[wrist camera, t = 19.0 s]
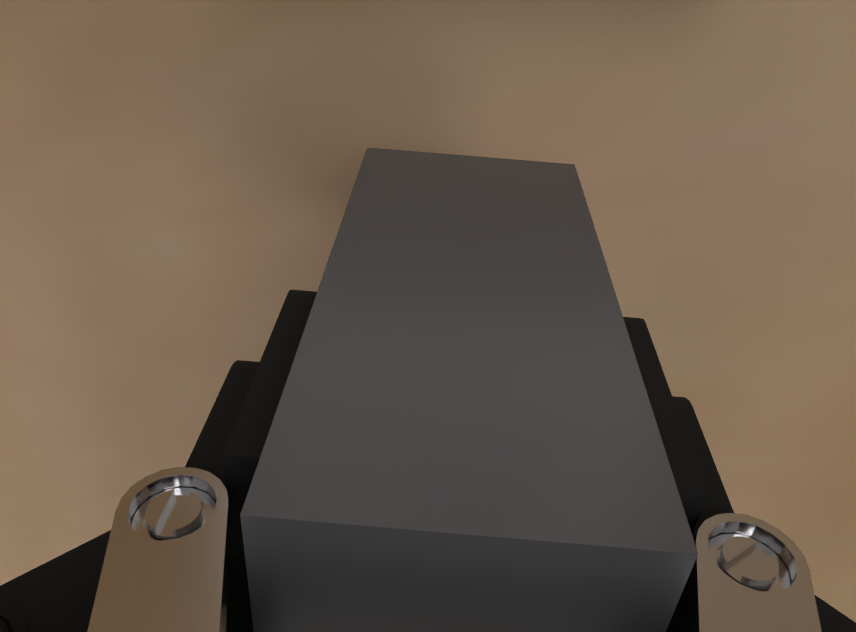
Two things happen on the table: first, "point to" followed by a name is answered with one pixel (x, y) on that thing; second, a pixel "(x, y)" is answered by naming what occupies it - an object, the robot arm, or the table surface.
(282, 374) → the robot arm
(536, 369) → the plug
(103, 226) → the table surface
